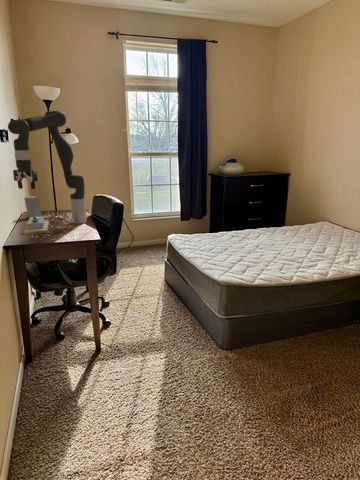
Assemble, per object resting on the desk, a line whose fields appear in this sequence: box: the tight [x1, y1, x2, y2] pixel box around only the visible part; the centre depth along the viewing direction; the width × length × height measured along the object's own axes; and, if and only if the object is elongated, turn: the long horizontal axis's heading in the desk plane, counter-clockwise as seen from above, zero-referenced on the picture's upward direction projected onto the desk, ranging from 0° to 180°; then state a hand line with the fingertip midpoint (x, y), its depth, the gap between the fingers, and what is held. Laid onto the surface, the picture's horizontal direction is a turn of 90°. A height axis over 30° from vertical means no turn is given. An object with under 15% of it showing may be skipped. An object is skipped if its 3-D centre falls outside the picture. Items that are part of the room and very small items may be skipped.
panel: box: [26, 215, 46, 229], centre depth 214 cm, size 21×9×4 cm, turn 20°
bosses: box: [32, 217, 39, 223], centre depth 211 cm, size 12×4×5 cm, turn 20°
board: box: [22, 219, 50, 235], centre depth 213 cm, size 30×14×2 cm, turn 20°
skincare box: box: [24, 195, 43, 219], centre depth 243 cm, size 8×7×16 cm
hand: (26, 188), depth 180 cm, fingers open, 8 cm apart
